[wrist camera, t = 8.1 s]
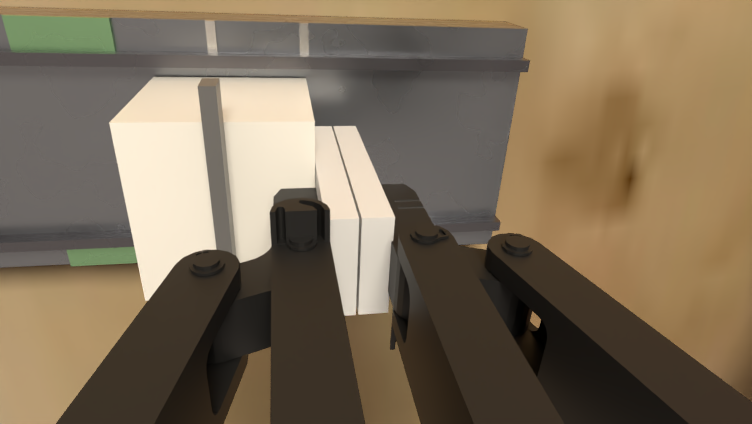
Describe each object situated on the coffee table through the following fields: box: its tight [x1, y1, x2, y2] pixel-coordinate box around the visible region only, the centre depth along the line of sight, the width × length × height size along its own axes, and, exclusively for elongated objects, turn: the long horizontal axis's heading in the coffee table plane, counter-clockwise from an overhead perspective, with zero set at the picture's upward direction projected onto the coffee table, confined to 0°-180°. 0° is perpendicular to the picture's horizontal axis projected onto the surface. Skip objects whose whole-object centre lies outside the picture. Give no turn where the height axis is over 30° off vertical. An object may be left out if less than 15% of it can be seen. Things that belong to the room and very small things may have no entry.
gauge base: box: [0, 7, 530, 268], centre depth 16 cm, size 28×9×8 cm, turn 87°
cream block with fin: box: [109, 77, 315, 301], centre depth 16 cm, size 5×8×6 cm, turn 177°
